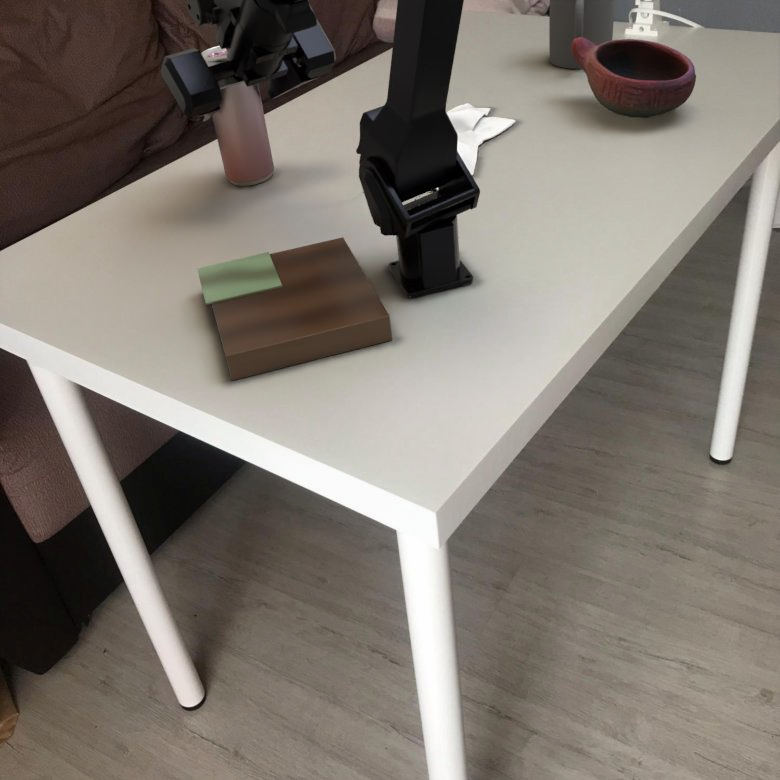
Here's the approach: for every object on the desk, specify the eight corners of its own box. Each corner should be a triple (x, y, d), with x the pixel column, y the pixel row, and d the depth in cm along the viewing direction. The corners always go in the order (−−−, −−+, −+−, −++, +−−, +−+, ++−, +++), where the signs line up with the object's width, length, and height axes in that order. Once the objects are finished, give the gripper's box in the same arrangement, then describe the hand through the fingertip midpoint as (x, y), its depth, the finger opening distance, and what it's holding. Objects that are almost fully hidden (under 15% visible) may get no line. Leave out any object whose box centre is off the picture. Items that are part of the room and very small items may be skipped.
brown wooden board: (392, 340, 74) (389, 313, 72) (226, 382, 72) (218, 355, 70) (346, 259, 87) (343, 234, 85) (203, 292, 84) (196, 268, 83)
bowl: (696, 96, 112) (703, 32, 108) (687, 133, 103) (694, 65, 98) (572, 94, 118) (573, 33, 113) (553, 129, 108) (553, 64, 104)
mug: (551, 51, 134) (552, -33, 127) (612, 49, 132) (616, -37, 124) (544, 80, 123) (544, -10, 116) (610, 78, 121) (615, -14, 114)
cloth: (433, 106, 120) (432, 89, 118) (529, 111, 114) (529, 94, 113) (347, 183, 101) (344, 165, 100) (456, 194, 96) (455, 175, 95)
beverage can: (221, 175, 107) (192, 51, 98) (266, 163, 109) (242, 39, 100) (234, 191, 103) (206, 63, 94) (281, 178, 105) (258, 51, 96)
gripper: (305, -65, 91) (272, 28, 105) (142, -27, 83) (129, 68, 97) (357, 24, 90) (316, 106, 105) (198, 72, 82) (177, 153, 97)
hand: (236, 106), depth 101 cm, fingers open, 9 cm apart
